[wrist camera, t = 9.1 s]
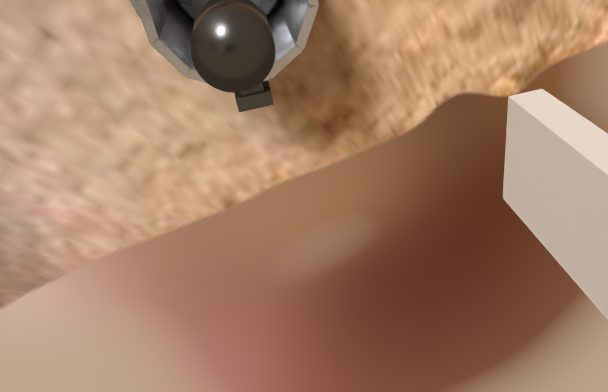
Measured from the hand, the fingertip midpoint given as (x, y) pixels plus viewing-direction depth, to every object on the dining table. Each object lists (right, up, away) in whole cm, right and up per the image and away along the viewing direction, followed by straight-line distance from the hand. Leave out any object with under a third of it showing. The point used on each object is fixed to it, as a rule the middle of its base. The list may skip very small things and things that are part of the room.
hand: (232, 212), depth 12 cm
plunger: (-4, +17, +26) cm, 31 cm away
